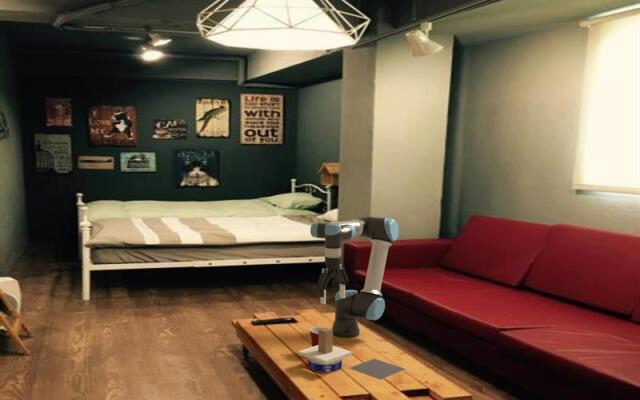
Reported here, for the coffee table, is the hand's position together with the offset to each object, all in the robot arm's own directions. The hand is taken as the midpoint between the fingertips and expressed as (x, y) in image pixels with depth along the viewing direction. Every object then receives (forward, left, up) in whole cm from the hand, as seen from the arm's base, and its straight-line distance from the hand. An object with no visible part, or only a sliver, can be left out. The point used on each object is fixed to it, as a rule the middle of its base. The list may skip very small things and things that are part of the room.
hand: (332, 300), depth 273 cm
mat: (-2, +26, -27) cm, 37 cm away
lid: (+13, +8, -21) cm, 26 cm away
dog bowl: (+13, +8, -27) cm, 31 cm away
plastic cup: (+2, -6, -27) cm, 28 cm away
